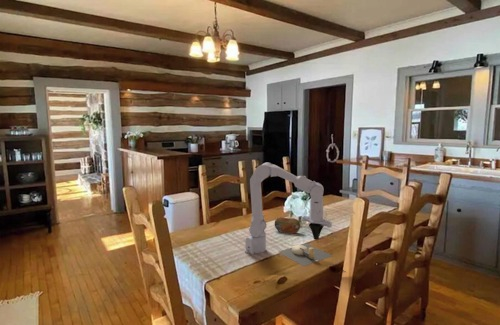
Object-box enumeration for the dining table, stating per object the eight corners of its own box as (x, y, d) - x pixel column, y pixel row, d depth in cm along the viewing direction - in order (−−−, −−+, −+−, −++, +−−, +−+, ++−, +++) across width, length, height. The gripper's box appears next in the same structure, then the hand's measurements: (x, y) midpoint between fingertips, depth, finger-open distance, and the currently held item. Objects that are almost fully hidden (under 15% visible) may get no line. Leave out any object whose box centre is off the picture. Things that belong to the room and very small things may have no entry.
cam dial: (289, 250, 144) (289, 241, 143) (300, 247, 147) (300, 238, 147) (307, 261, 133) (307, 251, 132) (319, 257, 136) (319, 247, 135)
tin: (274, 230, 177) (274, 216, 176) (276, 229, 180) (276, 215, 179) (299, 234, 170) (299, 220, 169) (300, 232, 173) (300, 218, 172)
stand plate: (304, 269, 129) (304, 265, 129) (277, 254, 144) (277, 251, 144) (333, 258, 139) (333, 255, 138) (305, 246, 154) (305, 242, 154)
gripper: (298, 208, 139) (298, 237, 141) (325, 215, 129) (325, 245, 130) (307, 205, 144) (307, 233, 146) (334, 211, 134) (333, 241, 135)
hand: (316, 238), depth 138 cm, fingers closed
